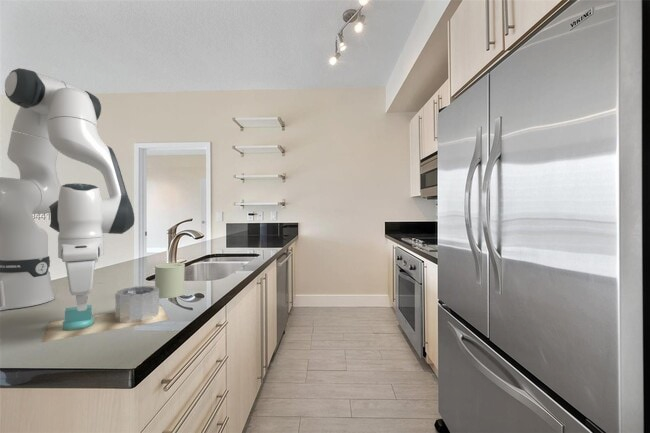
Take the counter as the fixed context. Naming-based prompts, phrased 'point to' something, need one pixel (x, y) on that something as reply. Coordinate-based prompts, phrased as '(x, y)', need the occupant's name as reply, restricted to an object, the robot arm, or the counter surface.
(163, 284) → the can
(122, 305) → the white thick faceted ring
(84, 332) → the base plate
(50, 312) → the counter surface
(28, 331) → the counter surface
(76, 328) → the teal disc with post
